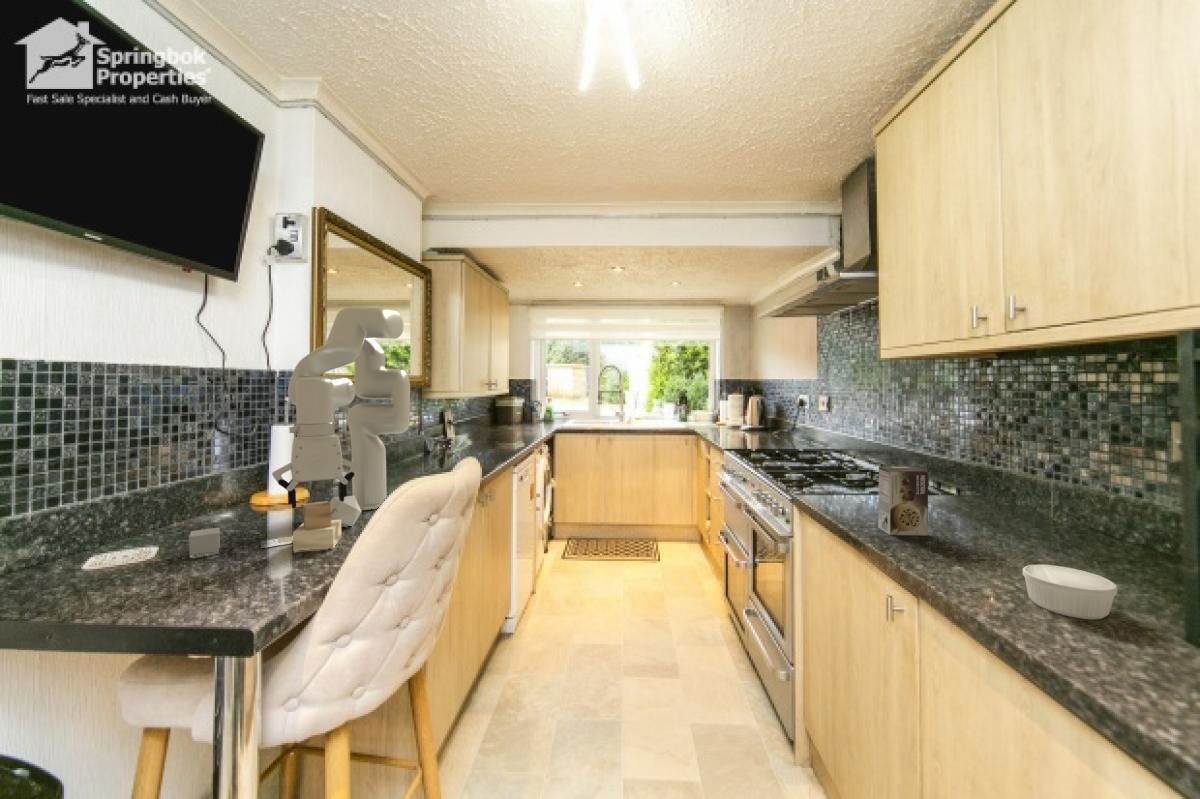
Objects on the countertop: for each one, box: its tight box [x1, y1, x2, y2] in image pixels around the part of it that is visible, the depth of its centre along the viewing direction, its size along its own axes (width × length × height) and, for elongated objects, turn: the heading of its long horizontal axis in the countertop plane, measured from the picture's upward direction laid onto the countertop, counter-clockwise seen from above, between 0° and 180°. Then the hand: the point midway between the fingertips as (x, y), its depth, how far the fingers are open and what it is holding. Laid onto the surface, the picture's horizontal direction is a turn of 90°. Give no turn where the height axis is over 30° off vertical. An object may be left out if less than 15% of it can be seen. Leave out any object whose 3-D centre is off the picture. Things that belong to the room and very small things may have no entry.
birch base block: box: [292, 520, 342, 552], centre depth 112 cm, size 8×8×5 cm
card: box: [273, 535, 293, 543], centre depth 114 cm, size 6×8×1 cm
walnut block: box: [302, 500, 331, 530], centre depth 111 cm, size 5×5×5 cm
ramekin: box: [1022, 564, 1119, 620], centre depth 80 cm, size 11×11×5 cm
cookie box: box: [877, 466, 929, 536], centre depth 120 cm, size 9×6×16 cm
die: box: [328, 495, 363, 527], centre depth 127 cm, size 8×9×10 cm
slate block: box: [188, 527, 221, 555], centre depth 107 cm, size 5×5×5 cm
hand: (318, 503), depth 112 cm, fingers open, 9 cm apart
